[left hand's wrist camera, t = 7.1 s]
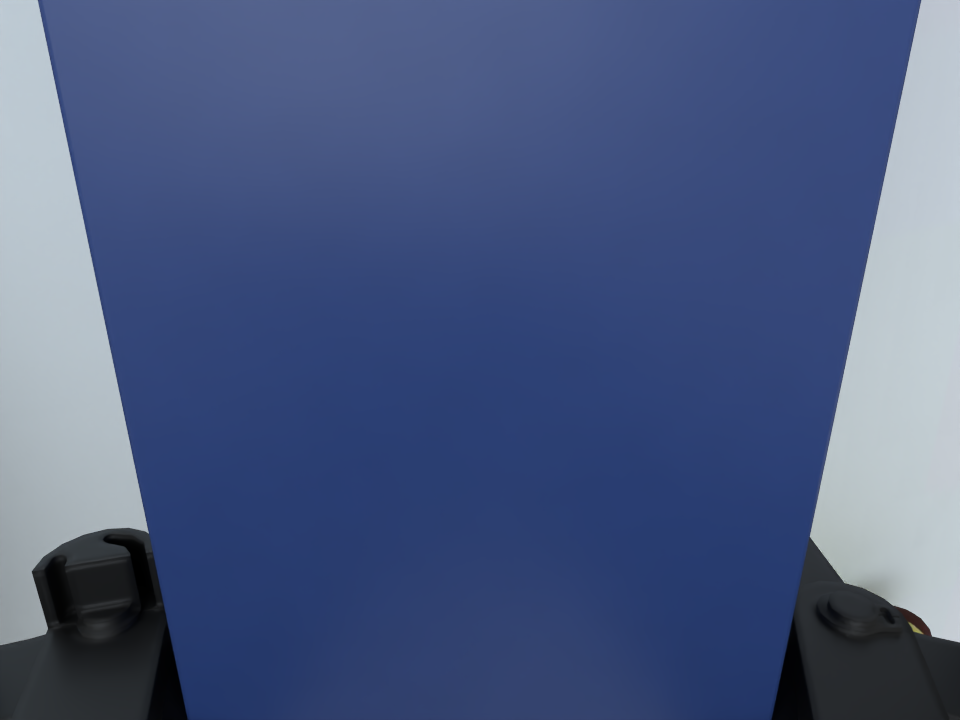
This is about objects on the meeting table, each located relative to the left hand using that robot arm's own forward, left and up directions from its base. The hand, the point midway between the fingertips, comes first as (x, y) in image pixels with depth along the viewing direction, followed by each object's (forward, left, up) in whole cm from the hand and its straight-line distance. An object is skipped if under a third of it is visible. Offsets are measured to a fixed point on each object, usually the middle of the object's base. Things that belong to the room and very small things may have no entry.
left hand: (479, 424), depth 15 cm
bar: (+10, 0, -1) cm, 10 cm away
